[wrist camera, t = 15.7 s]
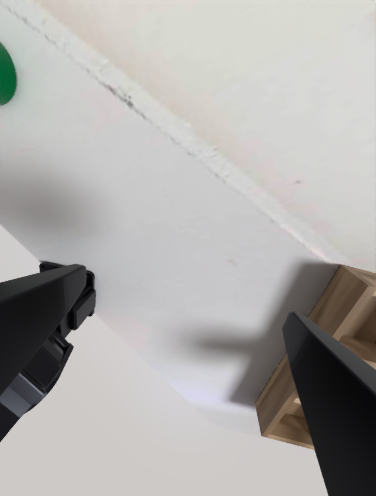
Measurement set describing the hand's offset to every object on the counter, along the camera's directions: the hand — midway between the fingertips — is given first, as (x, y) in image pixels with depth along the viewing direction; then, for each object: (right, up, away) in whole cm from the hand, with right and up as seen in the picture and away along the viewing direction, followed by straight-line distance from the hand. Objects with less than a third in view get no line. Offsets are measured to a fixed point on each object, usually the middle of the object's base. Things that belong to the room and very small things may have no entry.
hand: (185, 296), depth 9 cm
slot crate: (+17, -11, +17) cm, 27 cm away
